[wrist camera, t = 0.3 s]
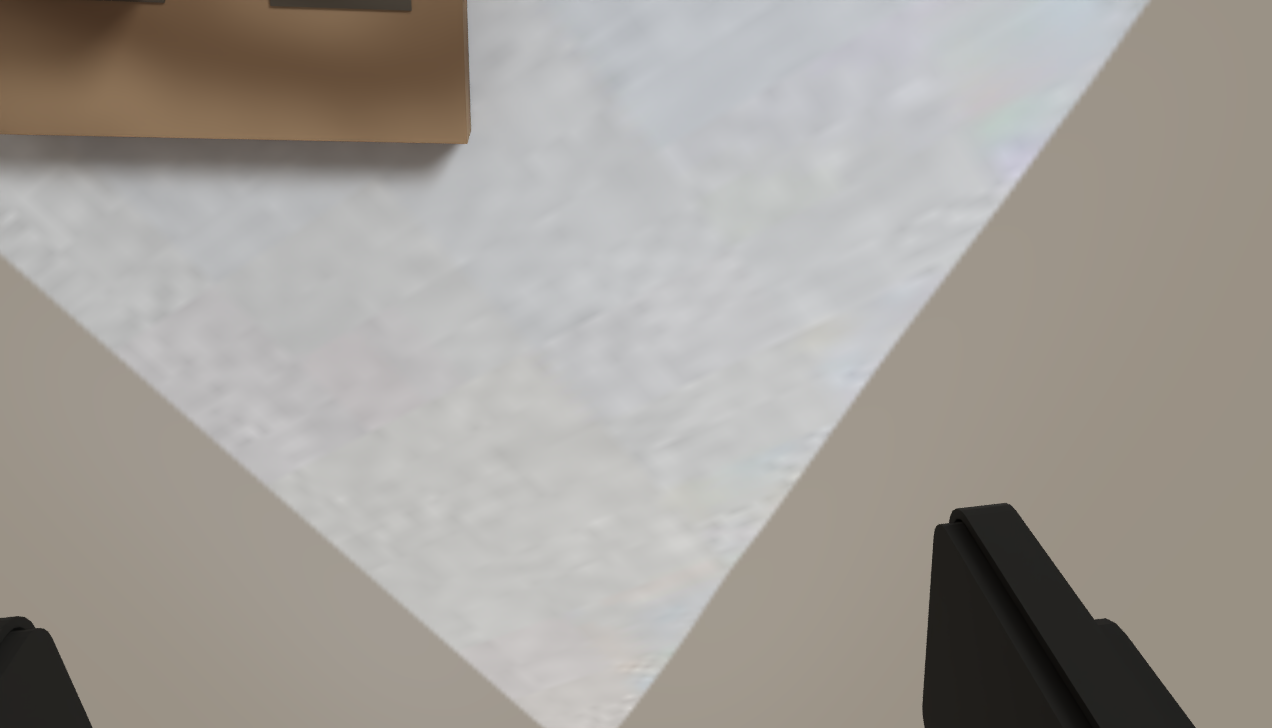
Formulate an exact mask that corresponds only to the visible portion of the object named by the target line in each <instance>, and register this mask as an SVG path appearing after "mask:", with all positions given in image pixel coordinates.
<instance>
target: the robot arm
mask: <svg viewBox="0 0 1272 728" xmlns="http://www.w3.org/2000/svg"><path fill="white" fill-rule="evenodd" d="M928 616H929V617H928V630H927V646H926V660H925V675H924V690H923V706H922V707H923V719H924V720H923V721H924V726H925V728H1195V726H1194V725H1193V724H1192V722H1191V721H1190V719H1189V718H1188V717H1187V715H1186V714H1185V713H1184V711H1183V710H1182V709H1181V707H1180V706H1179V705H1178V703H1177V702H1176V701H1175V699H1174V698H1173V697H1172V695H1171V694H1170V693H1169V691H1168V690H1167V689H1166V687H1165V686H1164V685H1163V683H1162V682H1161V681H1160V679H1159V678H1158V677H1157V676H1156V674H1155V673H1154V671H1153V670H1152V669H1151V667H1150V666H1149V665H1148V663H1147V662H1146V660H1145V659H1144V658H1143V656H1142V655H1141V654H1140V652H1139V651H1138V650H1137V648H1136V647H1135V646H1134V644H1133V643H1132V642H1131V640H1130V639H1129V638H1128V636H1127V635H1126V634H1125V633H1124V632H1123V631H1122V630H1121V629H1120V627H1119V626H1118V625H1117V624H1116V623H1114V622H1112V621H1110V620H1108V619H1106V618H1104V619H1096V620H1094V619H1093V617H1092V616H1091V615H1090V613H1089V612H1088V610H1087V609H1086V608H1085V606H1084V605H1083V604H1082V602H1081V601H1080V599H1079V598H1078V596H1077V595H1076V594H1075V592H1074V591H1073V589H1072V588H1071V587H1070V585H1069V584H1068V582H1067V581H1066V580H1065V578H1064V577H1063V575H1062V574H1061V573H1060V572H1059V570H1058V569H1057V567H1056V566H1055V564H1054V563H1053V562H1052V560H1051V559H1050V557H1049V556H1048V555H1047V553H1046V552H1045V550H1044V549H1043V548H1042V546H1041V545H1040V543H1039V542H1038V541H1037V539H1036V538H1035V536H1034V535H1033V534H1032V532H1031V531H1030V530H1029V528H1028V527H1027V526H1026V524H1025V523H1024V521H1023V520H1022V518H1021V517H1020V516H1019V514H1018V513H1017V511H1016V510H1015V509H1014V508H1013V507H1012V506H1011V505H1010V504H1007V503H1001V504H994V505H993V504H992V505H984V506H975V507H967V508H958V509H955V510H953V511H952V514H951V516H950V520H949V523H947V524H939V525H937V526H936V528H935V532H934V540H933V555H932V571H931V585H930V600H929V615H928ZM0 728H92V726H91V723H90V721H89V719H88V717H87V714H86V712H85V710H84V708H83V706H82V704H81V701H80V699H79V697H78V694H77V692H76V690H75V688H74V685H73V683H72V681H71V679H70V677H69V674H68V672H67V670H66V668H65V666H64V663H63V661H62V659H61V657H60V655H59V652H58V650H57V648H56V646H55V643H54V641H53V639H52V637H51V635H50V634H49V633H48V632H47V631H46V630H45V629H42V628H35V627H34V625H33V624H32V622H31V621H29V620H28V619H27V618H25V617H19V616H16V617H7V618H0Z"/></svg>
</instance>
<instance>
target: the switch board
mask: <svg viewBox="0 0 1272 728" xmlns="http://www.w3.org/2000/svg"><path fill="white" fill-rule="evenodd" d="M470 132H471V116H470V84H469V53H468V21H467V0H0V134H17V135H65V136H113V137H161V138H209V139H257V140H305V141H353V142H401V143H449V144H467V143H468V139H469V136H470Z"/></svg>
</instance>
